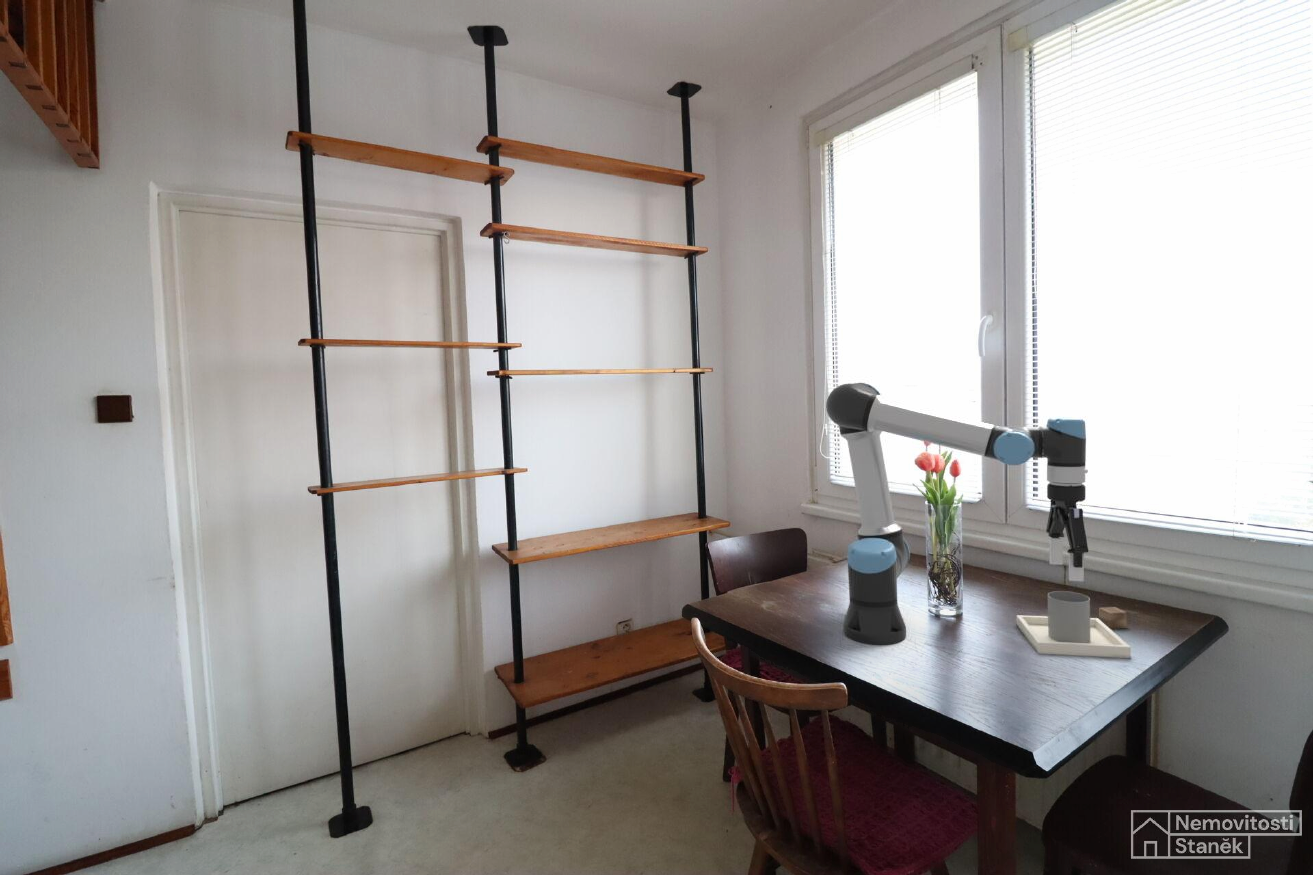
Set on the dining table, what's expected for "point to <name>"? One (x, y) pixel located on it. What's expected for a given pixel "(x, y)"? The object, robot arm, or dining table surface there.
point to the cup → (1069, 617)
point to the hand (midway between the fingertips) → (1065, 572)
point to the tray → (1100, 643)
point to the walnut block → (1113, 617)
